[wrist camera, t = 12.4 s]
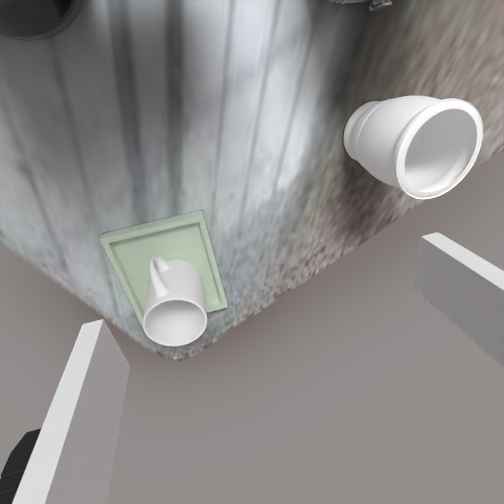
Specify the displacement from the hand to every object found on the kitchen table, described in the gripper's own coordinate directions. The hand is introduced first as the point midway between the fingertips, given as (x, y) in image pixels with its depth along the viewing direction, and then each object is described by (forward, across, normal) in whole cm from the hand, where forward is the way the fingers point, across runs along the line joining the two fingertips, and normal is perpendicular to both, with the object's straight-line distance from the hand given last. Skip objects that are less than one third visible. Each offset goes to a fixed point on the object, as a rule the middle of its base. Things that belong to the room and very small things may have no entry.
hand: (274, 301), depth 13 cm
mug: (+34, -10, -18) cm, 40 cm away
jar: (+35, +24, -3) cm, 42 cm away
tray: (+35, -10, -18) cm, 40 cm away
